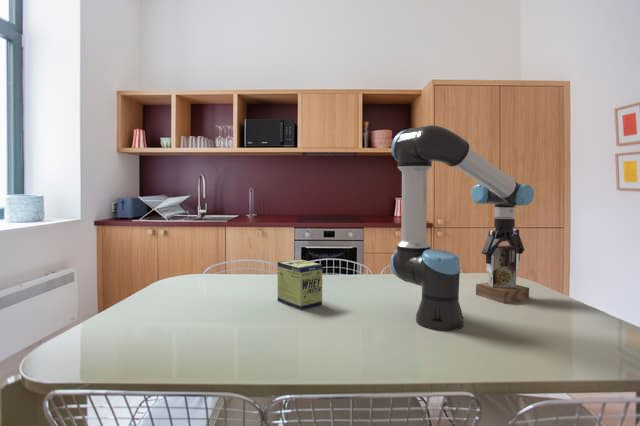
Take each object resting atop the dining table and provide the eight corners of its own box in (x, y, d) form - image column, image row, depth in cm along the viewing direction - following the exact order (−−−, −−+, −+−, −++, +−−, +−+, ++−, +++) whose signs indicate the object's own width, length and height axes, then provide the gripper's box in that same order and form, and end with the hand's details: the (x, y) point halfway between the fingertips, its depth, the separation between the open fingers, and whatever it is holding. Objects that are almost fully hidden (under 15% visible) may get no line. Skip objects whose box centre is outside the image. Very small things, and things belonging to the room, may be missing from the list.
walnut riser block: (504, 304, 166) (504, 291, 166) (475, 296, 178) (476, 284, 178) (528, 300, 172) (529, 287, 172) (499, 292, 185) (500, 280, 184)
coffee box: (510, 284, 177) (512, 245, 176) (516, 288, 171) (517, 247, 170) (487, 283, 178) (489, 244, 177) (492, 287, 172) (493, 247, 171)
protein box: (301, 310, 157) (300, 267, 156) (276, 301, 169) (276, 261, 168) (323, 305, 164) (323, 264, 162) (298, 296, 176) (298, 258, 174)
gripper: (487, 219, 164) (486, 275, 166) (535, 217, 174) (533, 269, 176) (473, 218, 171) (471, 271, 173) (519, 216, 181) (518, 266, 183)
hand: (502, 270), depth 174 cm, fingers open, 13 cm apart
